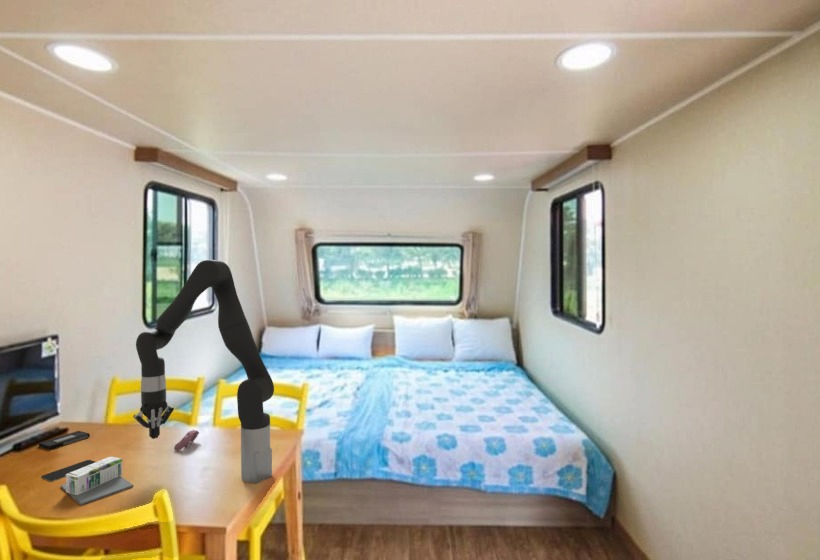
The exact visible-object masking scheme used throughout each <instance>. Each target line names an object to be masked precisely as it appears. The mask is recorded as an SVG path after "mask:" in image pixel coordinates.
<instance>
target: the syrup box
mask: <svg viewBox="0 0 820 560" xmlns="http://www.w3.org/2000/svg"><path fill="white" fill-rule="evenodd" d="M123 475H124V474H123V458H120V457H116V456H107V457H106V458H103V459H100V460H98V461H95V463H93V464H90V465H88V466H85V467H83V468H80V469H78V470H75V471H73V472H70V473H68V474H66V477H65V478H66V479H65V484H66V491H65V493H67V492H68V493H71V494H75V495H79V494H82V493H84V492H86V491H88V490H90V489H92V488H95V487H97V486H99V485H101V484H103V483H105V482H108V481H110V480H112V479H114V478H117V477H119V476H121V477H122V476H123ZM68 493H67V494H68Z"/></svg>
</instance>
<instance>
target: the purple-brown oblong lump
mask: <svg viewBox="0 0 820 560" xmlns="http://www.w3.org/2000/svg"><path fill="white" fill-rule="evenodd" d="M199 434H200V432H199V431H198V430H196V429H192V430H190V431H187V433H186V434H184V436H183V437H182V438H181V440H179V441H178V442H177V443H176V444H175V445H174V446H173V449H174V451H176V452H177V451H181V450H182V449H184V448H185V449H187V448H189V446H191V445H192V444H194V441H195V440H196V439H197V437H198V436H199Z"/></svg>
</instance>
